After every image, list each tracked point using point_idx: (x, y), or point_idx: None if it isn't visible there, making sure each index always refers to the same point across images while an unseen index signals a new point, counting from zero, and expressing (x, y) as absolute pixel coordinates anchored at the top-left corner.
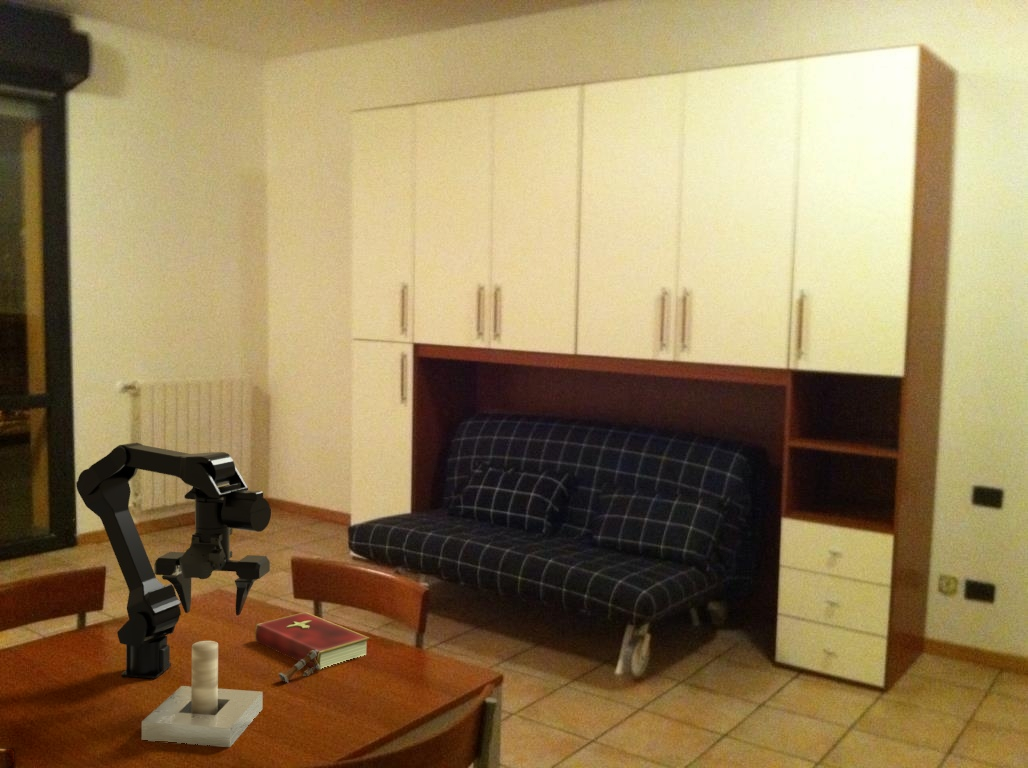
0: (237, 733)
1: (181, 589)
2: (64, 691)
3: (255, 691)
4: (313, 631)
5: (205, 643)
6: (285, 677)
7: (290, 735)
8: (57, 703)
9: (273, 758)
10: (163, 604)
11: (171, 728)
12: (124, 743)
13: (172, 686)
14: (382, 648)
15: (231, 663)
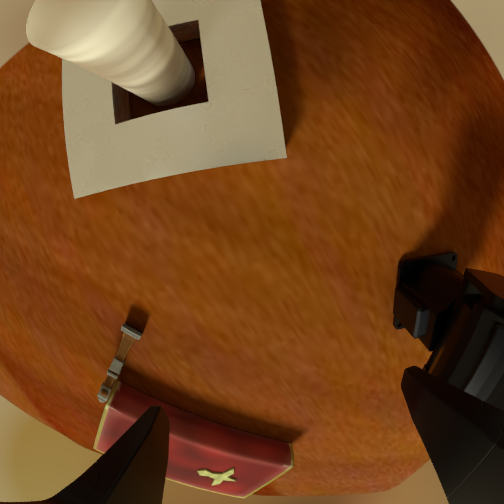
0: None
1: (488, 429)
2: (496, 168)
3: (87, 193)
4: (182, 464)
5: (75, 6)
6: (122, 327)
7: (18, 121)
8: (482, 118)
9: (20, 51)
10: (488, 379)
11: None
12: None
13: (350, 240)
14: None
15: (286, 375)
